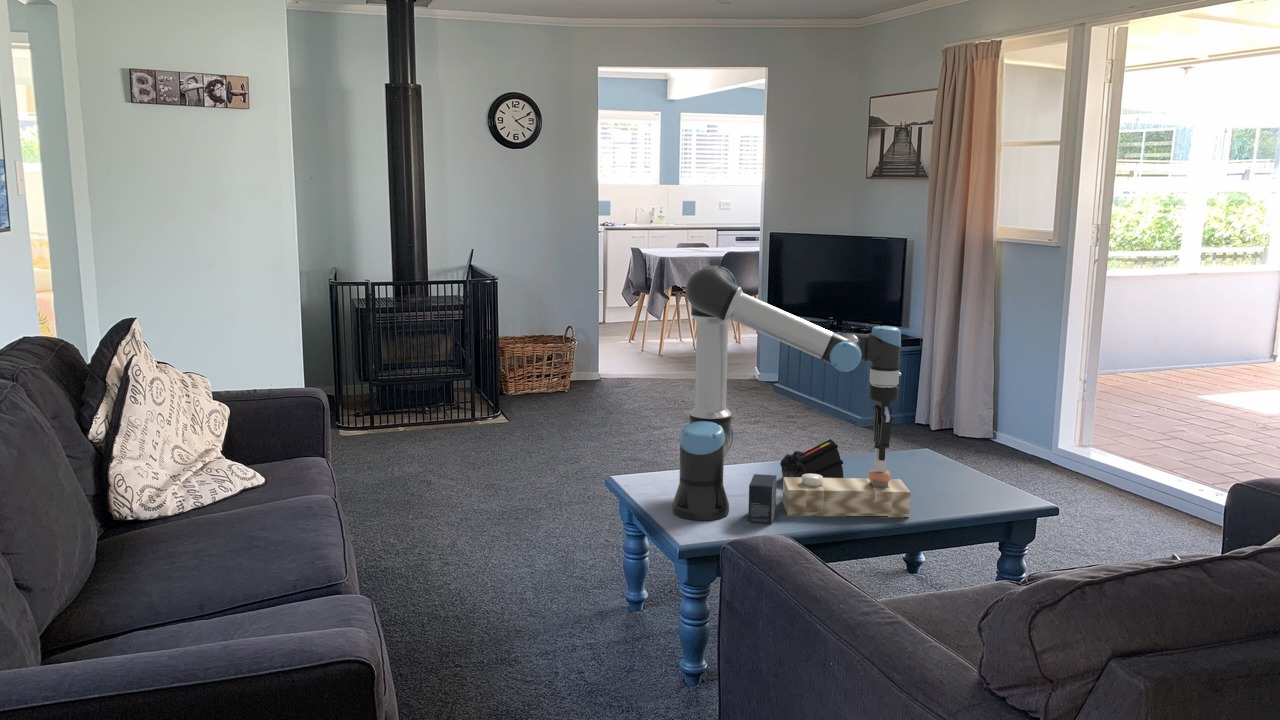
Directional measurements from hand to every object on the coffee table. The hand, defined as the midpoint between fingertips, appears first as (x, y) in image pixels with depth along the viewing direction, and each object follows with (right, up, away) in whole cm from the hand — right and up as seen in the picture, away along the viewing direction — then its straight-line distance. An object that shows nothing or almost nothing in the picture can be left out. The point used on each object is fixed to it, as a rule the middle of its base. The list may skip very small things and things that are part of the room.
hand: (879, 470), depth 261 cm
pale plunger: (-18, -9, +2) cm, 20 cm away
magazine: (-13, -8, +18) cm, 23 cm away
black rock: (-16, -6, +29) cm, 34 cm away
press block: (-9, -11, +2) cm, 14 cm away
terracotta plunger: (0, -8, +1) cm, 8 cm away
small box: (-32, -12, -5) cm, 35 cm away
